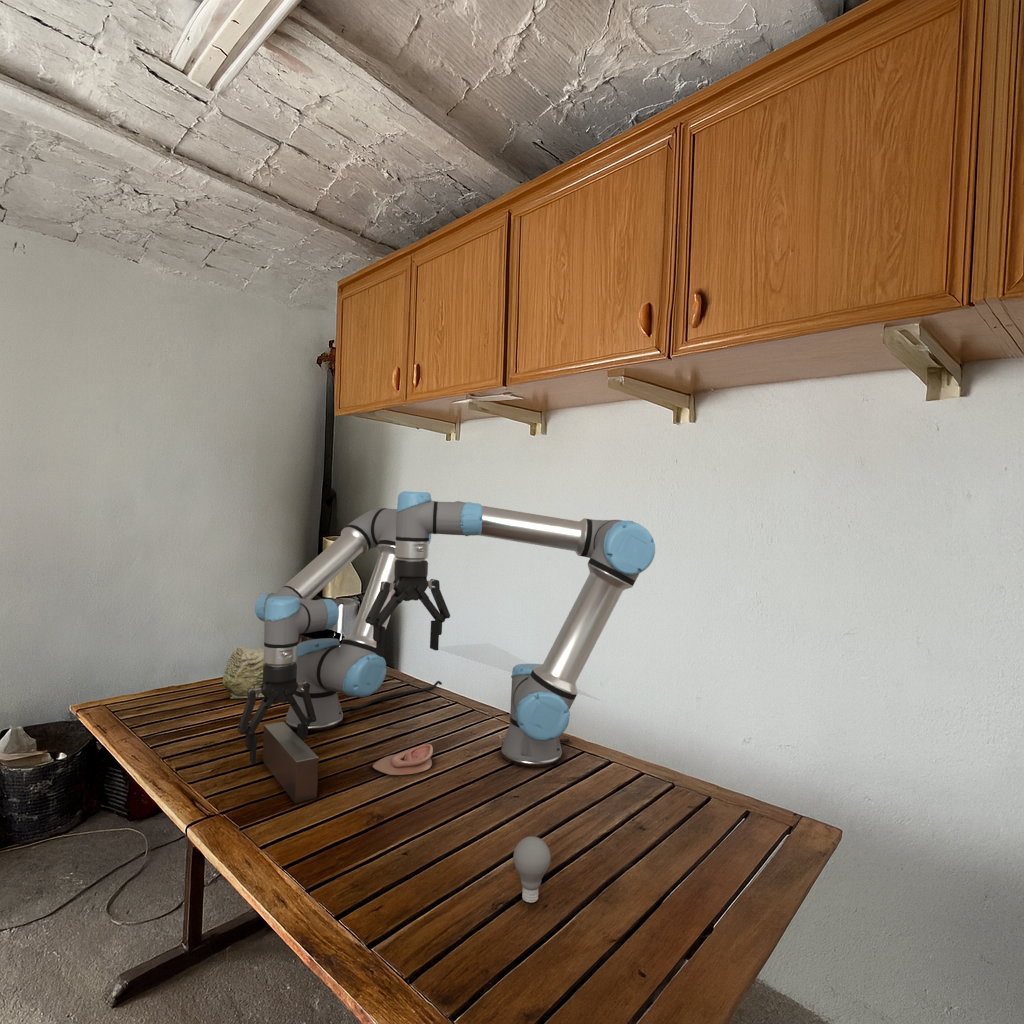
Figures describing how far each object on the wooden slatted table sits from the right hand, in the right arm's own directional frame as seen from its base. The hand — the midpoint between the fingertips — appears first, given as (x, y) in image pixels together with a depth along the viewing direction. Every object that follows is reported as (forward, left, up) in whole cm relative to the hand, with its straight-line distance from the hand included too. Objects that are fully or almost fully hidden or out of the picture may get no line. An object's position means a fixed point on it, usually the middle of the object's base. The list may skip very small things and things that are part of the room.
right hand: (407, 652), depth 144 cm
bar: (+24, -9, -29) cm, 38 cm away
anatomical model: (-2, -6, -29) cm, 29 cm away
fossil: (+25, -73, -29) cm, 82 cm away
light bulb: (-5, +51, -29) cm, 59 cm away
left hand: (+25, -18, -27) cm, 41 cm away
